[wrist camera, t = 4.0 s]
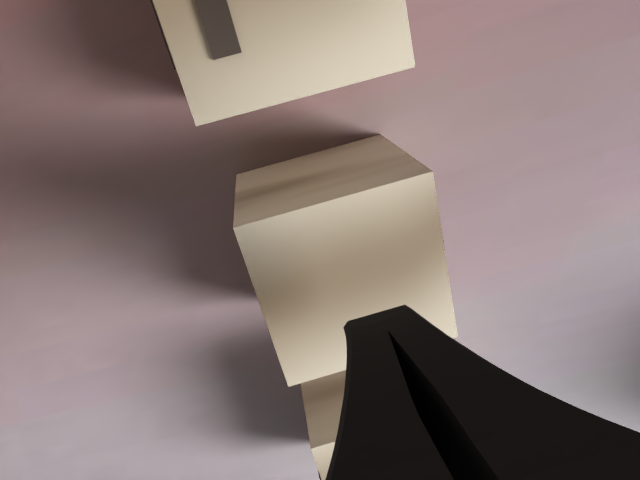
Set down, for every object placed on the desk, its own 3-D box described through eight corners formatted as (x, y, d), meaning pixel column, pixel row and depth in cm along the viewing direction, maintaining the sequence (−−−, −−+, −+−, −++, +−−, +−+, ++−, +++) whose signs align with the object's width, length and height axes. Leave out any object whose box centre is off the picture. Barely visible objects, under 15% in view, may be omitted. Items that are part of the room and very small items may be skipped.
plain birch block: (404, 262, 18) (457, 336, 14) (277, 298, 18) (288, 386, 14) (379, 134, 16) (432, 171, 12) (236, 173, 16) (233, 227, 11)
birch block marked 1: (432, 408, 21) (486, 512, 17) (320, 441, 21) (342, 556, 16) (415, 315, 19) (470, 404, 15) (291, 351, 19) (306, 453, 14)
